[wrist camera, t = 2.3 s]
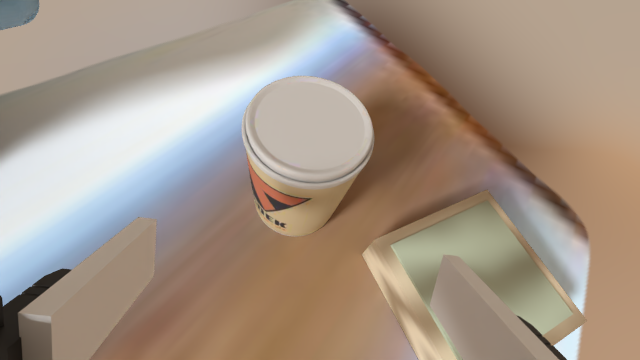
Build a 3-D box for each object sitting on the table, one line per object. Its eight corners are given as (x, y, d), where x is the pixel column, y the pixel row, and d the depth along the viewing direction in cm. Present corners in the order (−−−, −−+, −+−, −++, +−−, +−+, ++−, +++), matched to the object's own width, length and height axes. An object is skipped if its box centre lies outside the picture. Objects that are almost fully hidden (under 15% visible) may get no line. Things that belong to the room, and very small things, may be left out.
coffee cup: (228, 184, 33) (216, 97, 23) (308, 147, 37) (327, 58, 27) (278, 264, 30) (289, 205, 20) (359, 215, 34) (404, 144, 24)
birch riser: (361, 254, 32) (375, 238, 28) (465, 207, 36) (488, 188, 33) (442, 403, 27) (471, 407, 23) (551, 327, 31) (590, 320, 28)
